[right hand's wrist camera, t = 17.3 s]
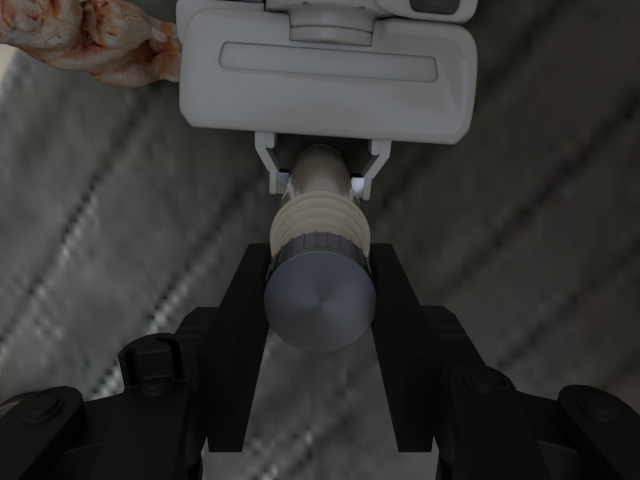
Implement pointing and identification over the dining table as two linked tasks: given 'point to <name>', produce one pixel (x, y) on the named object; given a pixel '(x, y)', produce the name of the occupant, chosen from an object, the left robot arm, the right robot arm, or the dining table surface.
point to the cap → (320, 292)
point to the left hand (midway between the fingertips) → (319, 195)
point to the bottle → (320, 201)
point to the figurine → (94, 39)
